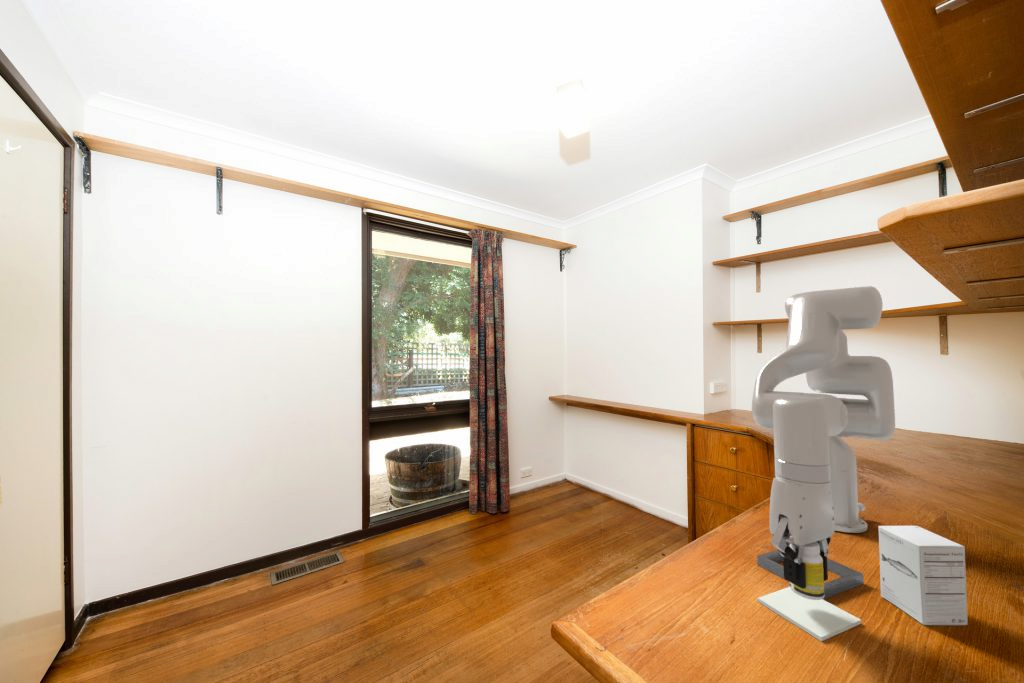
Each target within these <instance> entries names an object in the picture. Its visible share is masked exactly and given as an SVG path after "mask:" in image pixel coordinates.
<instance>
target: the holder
mask: <svg viewBox="0 0 1024 683" xmlns="http://www.w3.org/2000/svg"><path fill="white" fill-rule="evenodd" d="M789 547H790V545H789ZM756 556H757V562H756V564H757V565H758V566H759V567H762V568H764V570H767V571H769V572H770V573H772V574H775V575H776V576H778V577H780V578H782V579H783V580H785V581H787V580H786V579H785V578H784V566H783V564H780V562H783V556H781V552H780V551H779V550H778V549H775V550H772V551H769V552H768V551H767V552H765V553H761V554H759V555H756ZM827 568H828V571H829V572H832V573H833V574H836V575H838V576H839V577H838V578H834V579H831V580H829V581H827V582H826V581H825V582H824V598H823V600H826V599H829V598H831V597H834V596H836V595H839V594H841V593H844V592H846V590H847V591H849V590H852V589H855V588H857V587H859V586H861V585H864V584H865V581H864V580H865V579H864V578H865V577H864V573H862V572H860V571H857V570H855V569H854V568H850V567H848V566H846V565H843V564H841V563H839V562H837V561H835V560H833V559H830V558H828V557H827ZM842 576H843V577H842ZM843 591H844V592H843Z"/></svg>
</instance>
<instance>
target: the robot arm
mask: <svg viewBox="0 0 1024 683" xmlns="http://www.w3.org/2000/svg"><path fill="white" fill-rule="evenodd" d="M883 306H884V305H883V299H882V295H881V293H880V291H879V290H878V289H877V288H876V287H874V286H858V287H857V286H855V287H847V288H836V289H835V288H834V289H823V290H814V291H813V290H812V291H806V292H801V293H800V292H799V293H795V294H793V295H790V296H789V297H787V298H786V299H785V303H784V308H785V313H786V315H787V317H788V326H787V335H786V343H785V344H786V345H785V348H784V349H783V350H782V351H780V352H779V353H777V354H775V355H774V356H773V357H772V358H771V359H769V360H768V361H767V362H766V363H765V364H764V365H763V366H762V368H761V369H760V370H759V371H758V373H757V376H756V378H755V382H754V387H753V392H752V394H753V395H752V401H751V414H752V415H751V416H752V419H753V421H754V422H755V425H757V426H759V427H760V428H761V429H765V430H769V431H773V450H774V476H775V477H773V478H772V484H771V490H770V500H769V532H770V534H771V535H773V536H772V539H771V545H772V546H773V547H775V548H776V550H779V551H780V552H781V556H783V561H782V563H783V564H782V566H784V578H785V579H786V580H785V579H784V578H783V579H784V580H785V581H788V583H789V582H791V583H793V584H795V585H796V586H798V587H800V588H802V589H804V588H806V568H805V563H802V559H803V551H804V545H806V544H809V543H813V542H818V543H819V546H820V554H819V555H820V556H821V557H822V559H823V571H824V582H826V581H828V579H829V575H828V573H829V572H828V571H829V570H828V568H827V558H828V557H827V556H828V555H829V554H830V550H829V544H830V543H831V540H832V539H831V538H832V537H833V535H834V533H835V531H836V532H839V533H840V532H842V533H849V534H850V533H851V534H860V533H861V534H862V533H865V532H867V530H868V523H867V522H866V520H864V519H862V518H860V517H859V515H860V514H859V513H860V512H862V511H863V512H864V511H865V510H866V506H865V505H864V503H862V502H859V498H858V496H859V495H858V476H857V475H858V474H857V469H858V468H857V458H856V454H855V451H854V450H853V449H852V447H851V446H850V445H848V443H847V442H846V441H845V440H844V439H843V438H857V439H866V440H876V441H886V440H889V439H891V438H893V436H894V435H895V431H896V413H895V411H896V410H895V397H894V396H895V395H894V394H895V393H894V392H895V391H894V380H893V372H892V369H891V366H890V364H889V362H888V361H887V360H886V359H884V358H882V357H880V356H875V355H850V354H849V352H848V338H847V334H846V332H844V331H843V330H860V329H861V330H863V329H873V328H875V327H876V326H878V324H879V322H880V321H881V317H882V314H883V313H882V312H883ZM803 374H805V377H806V384H807V386H808V387H809V389H810V390H811V391H814V392H816V393H814V392H813V393H809V392H798V391H797V392H796V391H795V392H794V391H777V390H775V389H776V387H777V386H778V385H779V384H781V383H782V382H784V381H786V380H788V379H791V378H794V377H796V376H799V375H803ZM774 390H775V391H774ZM833 394H834V395H835V396H834V395H833ZM836 395H849V396H850V395H851V396H863V397H865V398H866V399H865V398H864V399H863V398H862V399H860V398H846V397H837V396H836ZM842 437H843V438H842ZM790 537H793V539H791V538H790ZM790 544H793V545H795V546H796V549H795V552H794V550H793V549H792V548H791V547H789V546H790Z"/></svg>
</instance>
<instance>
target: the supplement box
mask: <svg viewBox="0 0 1024 683" xmlns="http://www.w3.org/2000/svg"><path fill="white" fill-rule="evenodd" d="M878 548H879V549H878V552H879V553H878V554H879V555H878V556H879V576H880V578H879V580H880V596H881V598H883V599H885V600H886V601H888V602H889V603H891V604H893V605H894V606H896V607H897V608H899V609H900V610H902V612H904V613H906V614H907V615H909V616H910V617H911V618H912V619H915V620H916V621H917V622H919V623H920V624H921V625H923V626H968V624H969V623H968V599H967V598H968V596H967V593H968V592H967V572H966V547H965V546H964V545H962V544H960V543H957V542H955V541H953V540H950V539H948V538H946V537H943V536H942V535H939V534H937V533H934V532H932V531H930V530H927V529H926V528H923V527H921V526H920V525H919V526H918V525H878Z"/></svg>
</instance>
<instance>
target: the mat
mask: <svg viewBox="0 0 1024 683" xmlns="http://www.w3.org/2000/svg"><path fill="white" fill-rule="evenodd" d="M757 602H758V603H760V604H761V605H762V606H764V607H766V608H767V609H769V610H770V611H772V612H773V613H776V614H777V615H779V616H780V617H782V618H783V619H785V620H786V621H788V622H790V623H791V624H793V625H794V626H796V627H797V628H799V629H801V630H803V632H805V633H807V634H809V635H810V636H812V637H813V638H815V639H816V640H818V641H820V642H823V641H826V640H828V639H830V638H832V637H834V636H836V635H839V634H841V633H843V632H846V631H848V630H850V629H853V628H855V627H856V626H859V625H861V624H862V620H861V619H860V618H859V617H857V616H855V615H853V614H851V613H849V612H847V611H846V610H844V609H842V608H839V607H838V606H836V605H835V604H832V603H830V602H828V601H827V600H826V599H821V600H811V599H807V598H804V597H801V596H799V595H797V594H796V593H794V592H793V591H792V590H791V589H790V587H789V586H788V587H784V588H782V589H779V590H777V591H776V590H775V591H774V592H771V593H767V594H765V595H763V596H759V597H757Z"/></svg>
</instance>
